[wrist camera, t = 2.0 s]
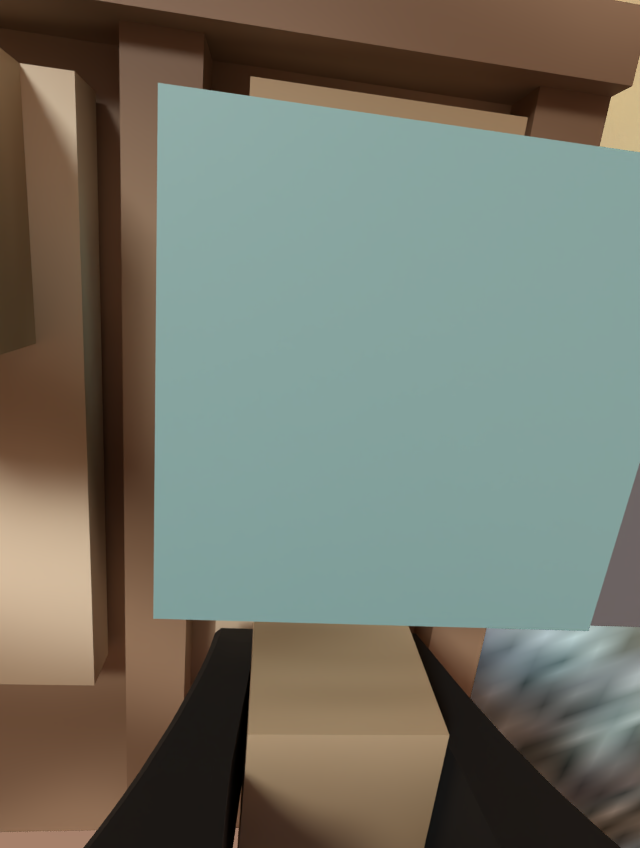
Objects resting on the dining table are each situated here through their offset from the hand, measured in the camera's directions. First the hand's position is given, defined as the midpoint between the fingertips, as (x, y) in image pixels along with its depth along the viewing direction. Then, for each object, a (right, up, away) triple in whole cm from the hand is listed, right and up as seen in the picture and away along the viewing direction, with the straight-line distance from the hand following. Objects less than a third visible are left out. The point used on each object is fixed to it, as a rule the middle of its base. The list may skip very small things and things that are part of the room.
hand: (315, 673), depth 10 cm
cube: (+1, +6, -1) cm, 6 cm away
